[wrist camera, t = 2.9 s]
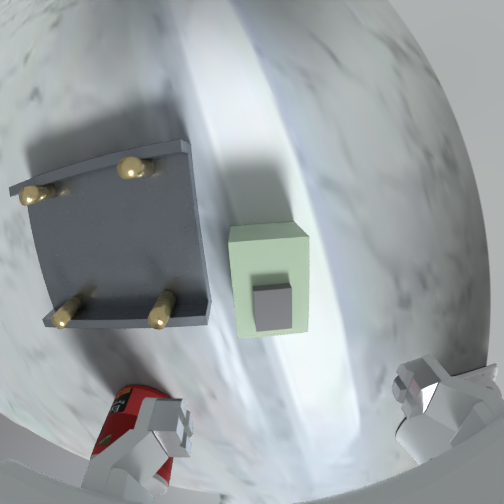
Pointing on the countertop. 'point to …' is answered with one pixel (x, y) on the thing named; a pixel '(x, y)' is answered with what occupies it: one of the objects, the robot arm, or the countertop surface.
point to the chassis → (121, 240)
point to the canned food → (124, 420)
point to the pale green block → (269, 278)
